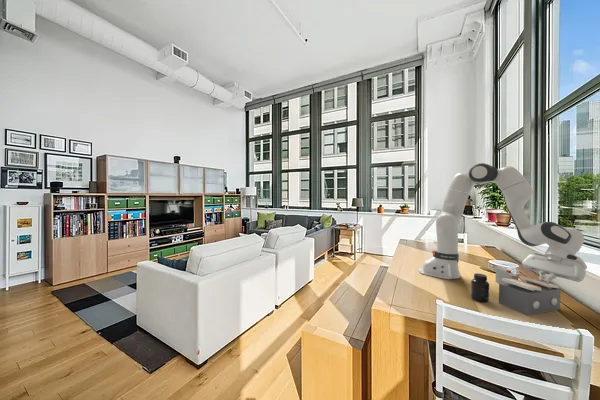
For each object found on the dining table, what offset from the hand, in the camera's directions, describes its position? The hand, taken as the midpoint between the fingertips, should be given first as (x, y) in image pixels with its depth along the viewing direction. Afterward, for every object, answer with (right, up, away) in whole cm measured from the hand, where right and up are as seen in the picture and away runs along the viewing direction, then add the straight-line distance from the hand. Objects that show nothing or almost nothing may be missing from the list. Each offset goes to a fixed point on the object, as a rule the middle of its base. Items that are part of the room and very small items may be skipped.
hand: (543, 280), depth 105 cm
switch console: (-9, -11, -2) cm, 14 cm away
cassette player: (0, -11, +19) cm, 22 cm away
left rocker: (-14, -2, -3) cm, 14 cm away
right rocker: (-3, -2, -1) cm, 4 cm away
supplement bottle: (-26, -11, +4) cm, 28 cm away
